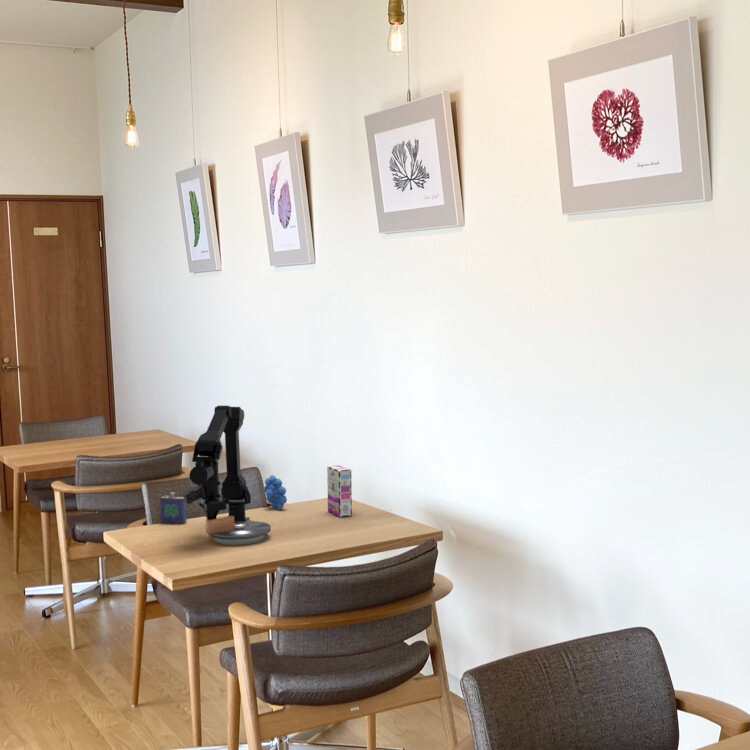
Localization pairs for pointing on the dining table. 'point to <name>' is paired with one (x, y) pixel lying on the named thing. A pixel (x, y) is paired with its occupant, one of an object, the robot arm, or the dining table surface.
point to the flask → (173, 509)
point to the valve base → (239, 540)
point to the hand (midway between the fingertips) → (210, 526)
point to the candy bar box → (339, 491)
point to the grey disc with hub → (235, 528)
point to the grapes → (275, 492)
